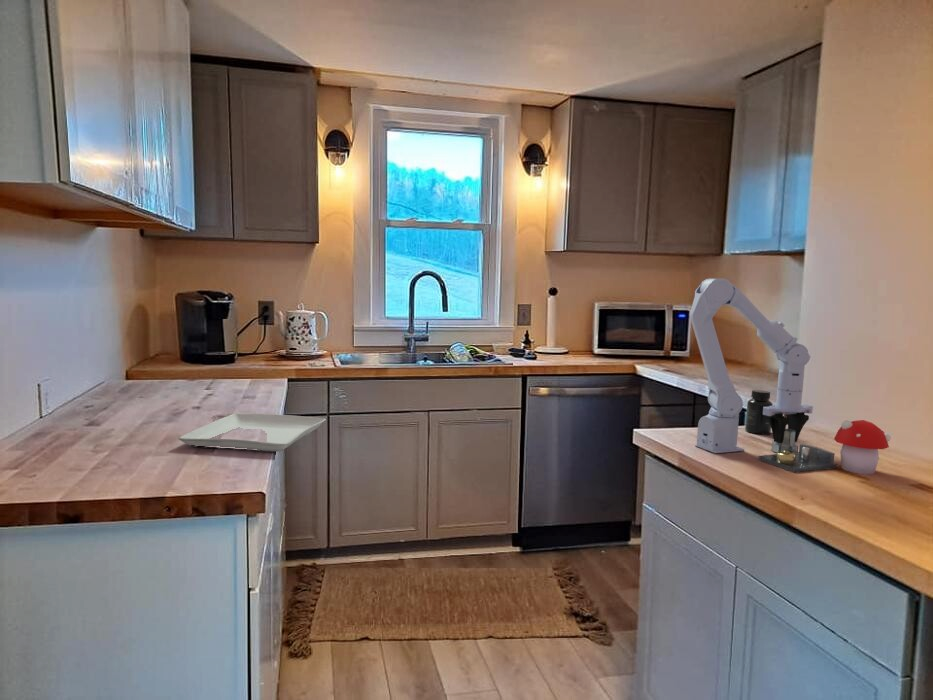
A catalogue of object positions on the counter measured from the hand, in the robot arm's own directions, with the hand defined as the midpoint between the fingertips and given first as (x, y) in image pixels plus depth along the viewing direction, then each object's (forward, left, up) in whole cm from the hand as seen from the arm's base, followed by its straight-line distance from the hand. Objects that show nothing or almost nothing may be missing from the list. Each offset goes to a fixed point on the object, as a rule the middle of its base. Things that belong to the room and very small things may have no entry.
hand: (785, 441), depth 161 cm
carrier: (-6, -9, -3) cm, 11 cm away
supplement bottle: (+10, +19, -3) cm, 22 cm away
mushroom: (+4, -17, -3) cm, 18 cm away
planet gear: (0, 0, -2) cm, 2 cm away
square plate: (-127, +46, -3) cm, 135 cm away
